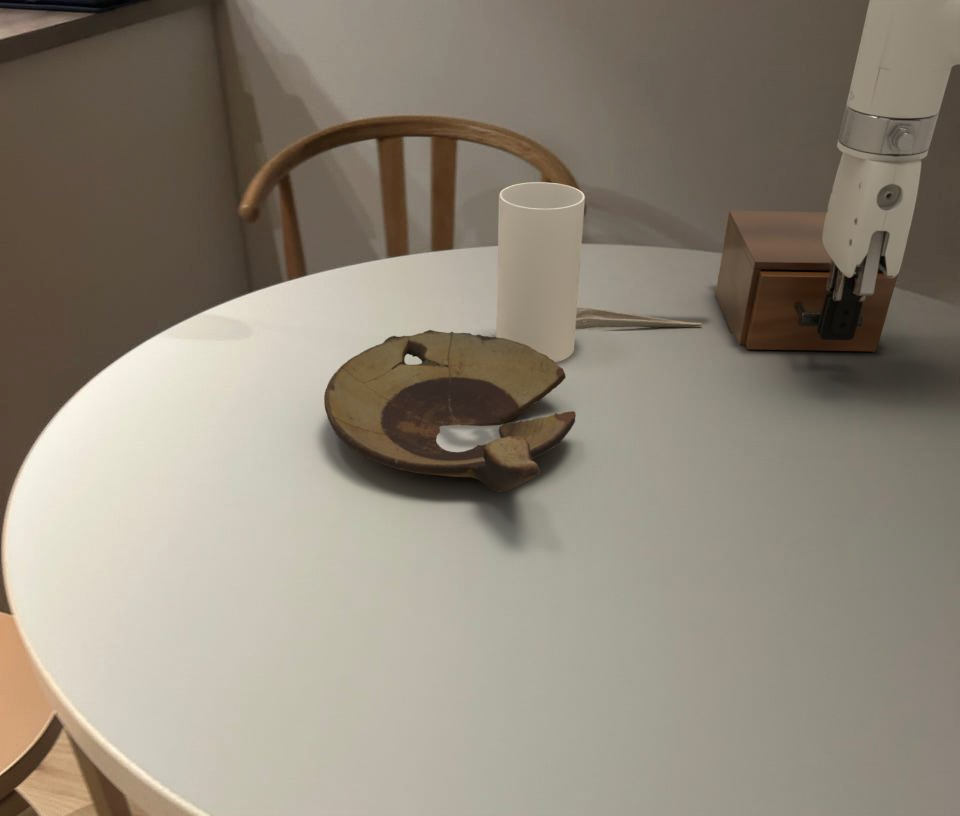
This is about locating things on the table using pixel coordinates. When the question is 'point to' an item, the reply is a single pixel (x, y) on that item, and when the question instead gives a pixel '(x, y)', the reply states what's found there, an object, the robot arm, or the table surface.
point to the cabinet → (766, 257)
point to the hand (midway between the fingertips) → (834, 335)
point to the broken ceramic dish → (447, 405)
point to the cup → (539, 266)
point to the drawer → (809, 312)
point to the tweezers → (621, 320)
